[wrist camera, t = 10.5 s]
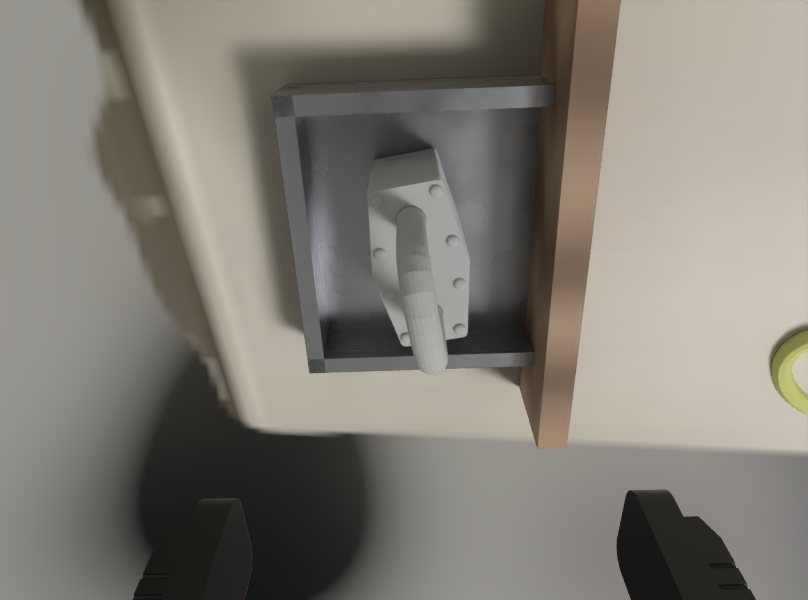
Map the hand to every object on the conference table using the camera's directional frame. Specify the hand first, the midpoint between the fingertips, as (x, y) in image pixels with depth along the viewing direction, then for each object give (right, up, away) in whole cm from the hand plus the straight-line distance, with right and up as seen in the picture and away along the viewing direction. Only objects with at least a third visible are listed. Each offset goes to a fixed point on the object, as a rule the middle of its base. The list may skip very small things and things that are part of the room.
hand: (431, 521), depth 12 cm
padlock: (0, +8, +16) cm, 18 cm away
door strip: (+6, +9, +16) cm, 19 cm away
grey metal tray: (0, +8, +16) cm, 18 cm away
